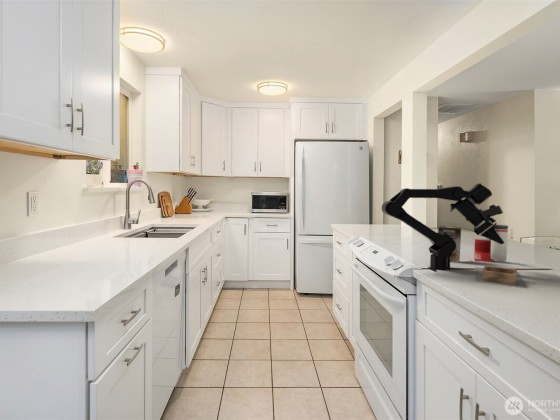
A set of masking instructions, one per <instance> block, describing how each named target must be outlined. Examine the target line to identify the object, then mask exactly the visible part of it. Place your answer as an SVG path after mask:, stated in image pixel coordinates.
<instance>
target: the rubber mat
mask: <svg viewBox="0 0 560 420" xmlns="http://www.w3.org/2000/svg"><path fill="white" fill-rule="evenodd" d="M483 269H484V267H478V266H477V267H475V282H476V283H484V284H491V285H496V286H506V287H514V288H520V289H521V288H522V289H528V287H527V285H526V283H525V281H524V279H523V278H522V276H521V273H520V272H519V271H517V281H516V286H515V285H508V284H502V283H495V282H488V281H482V270H483Z"/></svg>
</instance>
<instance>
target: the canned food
mask: <svg viewBox="0 0 560 420" xmlns="http://www.w3.org/2000/svg"><path fill="white" fill-rule="evenodd" d="M473 249H474V255H473V260H474V261H475V262H485V263H493V262H496V260H492V259H490V255H491V240H490V239H488V238H486V237H483V236H475V237H474V248H473Z"/></svg>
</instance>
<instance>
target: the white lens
mask: <svg viewBox="0 0 560 420" xmlns="http://www.w3.org/2000/svg"><path fill="white" fill-rule="evenodd" d="M492 226H493V225H492ZM495 231H496V232H497V233H498V235H499V236H500V237H501V239H502V240H503V241H504V243H503V244H500V243H498V242H495V241H493V240H491V255H490V259H492V260H495V261H497V262H499V261H501V262H502V261H503V262H504V261H505V262H506V261H507V259H508V258H507V255H508V236H509V235H508V231H509V225H506V224H497V225H495Z"/></svg>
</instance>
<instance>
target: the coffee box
mask: <svg viewBox="0 0 560 420" xmlns="http://www.w3.org/2000/svg"><path fill="white" fill-rule="evenodd" d="M438 231H441V232H445V233H446V234H447V235H448V236H450V237H452V238H454V239H453V240H454V241H455V242H456V249H455V250H454V251H453V253H452V255H451V257H450V258H449V259H450V263H456V264H460V261H461V242H462V241H461V240H462V227H461V226H460V227H459V226H448V225H445V226H444V225H439V226H438V228H437V232H438Z"/></svg>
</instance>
